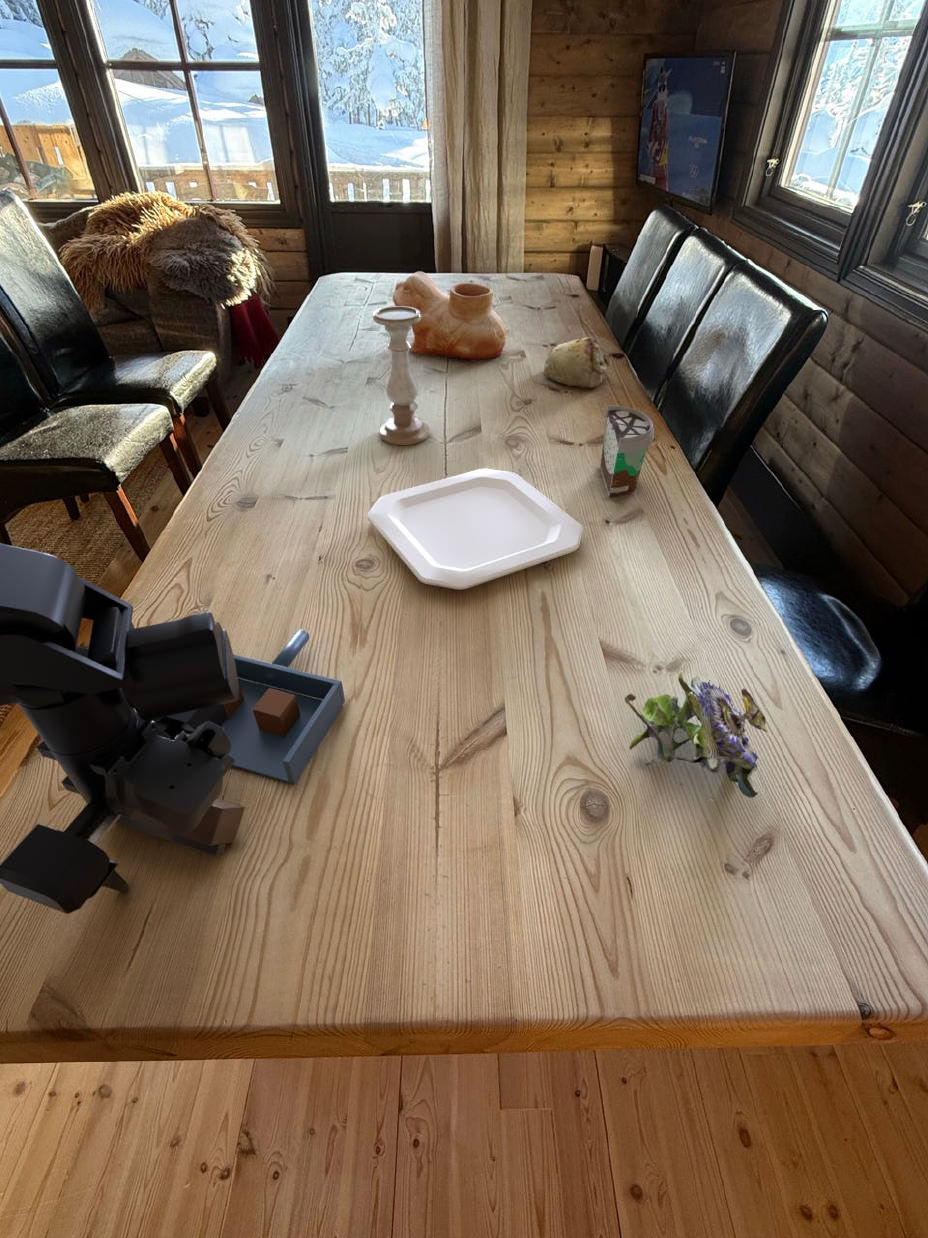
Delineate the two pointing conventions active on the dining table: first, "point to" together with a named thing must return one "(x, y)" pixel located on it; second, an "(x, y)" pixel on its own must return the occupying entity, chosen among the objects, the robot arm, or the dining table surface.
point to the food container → (624, 448)
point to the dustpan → (303, 739)
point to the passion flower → (704, 729)
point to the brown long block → (205, 837)
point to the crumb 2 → (276, 712)
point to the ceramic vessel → (452, 319)
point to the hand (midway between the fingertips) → (160, 840)
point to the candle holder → (401, 378)
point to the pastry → (576, 363)
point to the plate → (473, 528)
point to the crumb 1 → (234, 704)
